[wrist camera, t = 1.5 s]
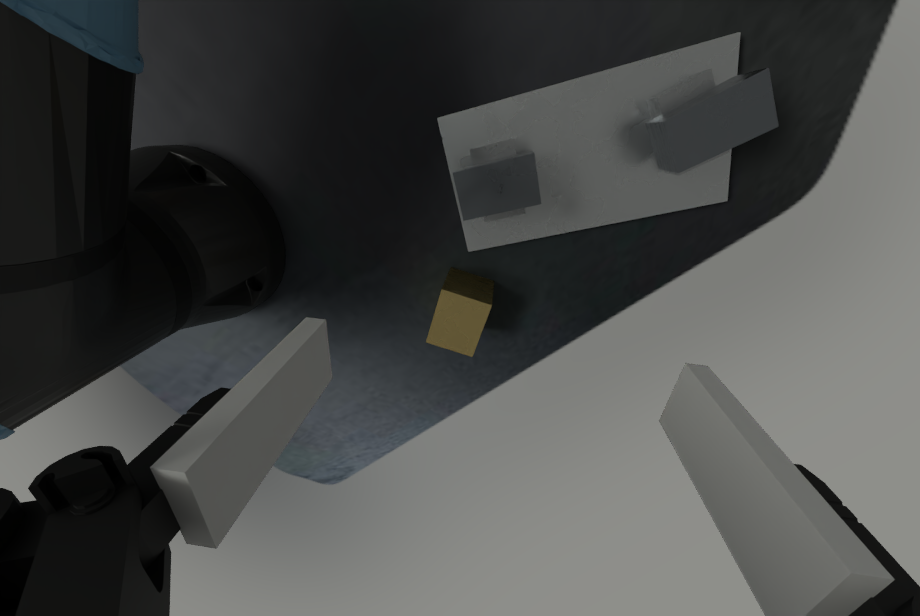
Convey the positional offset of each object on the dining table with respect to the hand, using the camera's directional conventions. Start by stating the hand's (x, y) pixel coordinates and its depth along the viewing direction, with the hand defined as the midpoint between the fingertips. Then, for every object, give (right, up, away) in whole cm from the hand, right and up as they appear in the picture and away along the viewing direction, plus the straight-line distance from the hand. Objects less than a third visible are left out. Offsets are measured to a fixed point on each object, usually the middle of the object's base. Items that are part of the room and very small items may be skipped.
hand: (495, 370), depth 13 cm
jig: (+7, +13, +13) cm, 20 cm away
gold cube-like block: (-1, +3, +19) cm, 19 cm away
